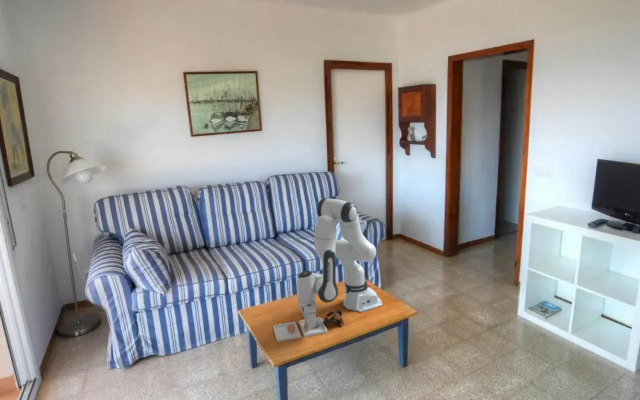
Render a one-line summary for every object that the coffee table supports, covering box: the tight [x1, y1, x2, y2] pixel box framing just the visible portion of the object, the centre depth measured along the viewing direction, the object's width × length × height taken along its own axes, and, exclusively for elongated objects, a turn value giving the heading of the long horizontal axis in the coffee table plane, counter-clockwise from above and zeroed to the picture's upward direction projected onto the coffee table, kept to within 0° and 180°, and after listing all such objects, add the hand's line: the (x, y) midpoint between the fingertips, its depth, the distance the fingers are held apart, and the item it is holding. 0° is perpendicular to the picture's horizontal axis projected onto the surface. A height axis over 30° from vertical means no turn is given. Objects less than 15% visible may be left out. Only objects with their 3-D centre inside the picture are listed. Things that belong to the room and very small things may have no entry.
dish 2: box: [298, 316, 328, 338], centre depth 203 cm, size 12×14×2 cm
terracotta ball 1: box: [287, 324, 295, 332], centre depth 200 cm, size 4×4×4 cm
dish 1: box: [272, 321, 302, 343], centre depth 200 cm, size 12×14×2 cm
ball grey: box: [315, 319, 321, 327], centre depth 203 cm, size 4×4×4 cm
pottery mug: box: [323, 309, 345, 328], centre depth 207 cm, size 12×10×8 cm
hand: (308, 326), depth 202 cm, fingers closed on terracotta ball 2, 4 cm apart
